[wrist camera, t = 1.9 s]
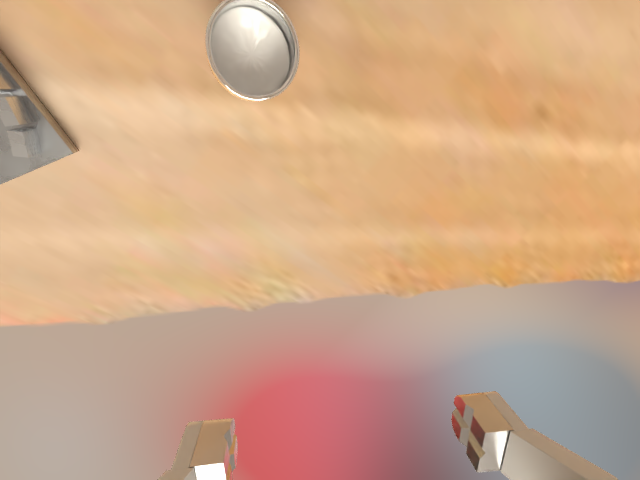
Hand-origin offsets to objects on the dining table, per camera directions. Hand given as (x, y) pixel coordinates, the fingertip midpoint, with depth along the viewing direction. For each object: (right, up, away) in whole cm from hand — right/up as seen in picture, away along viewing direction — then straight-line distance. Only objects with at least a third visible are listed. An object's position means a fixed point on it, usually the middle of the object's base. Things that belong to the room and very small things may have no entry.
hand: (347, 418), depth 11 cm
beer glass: (-10, +27, +24) cm, 37 cm away
